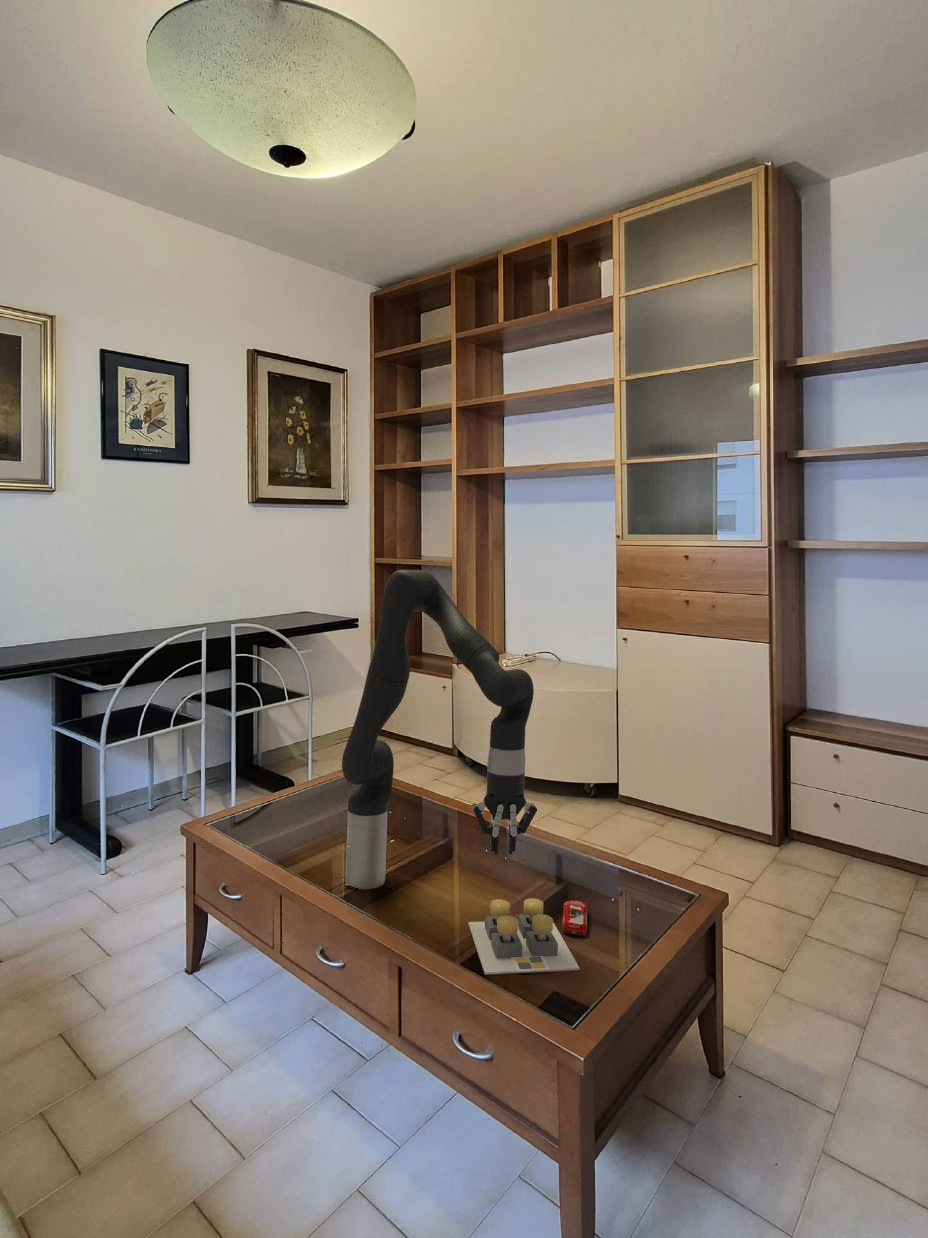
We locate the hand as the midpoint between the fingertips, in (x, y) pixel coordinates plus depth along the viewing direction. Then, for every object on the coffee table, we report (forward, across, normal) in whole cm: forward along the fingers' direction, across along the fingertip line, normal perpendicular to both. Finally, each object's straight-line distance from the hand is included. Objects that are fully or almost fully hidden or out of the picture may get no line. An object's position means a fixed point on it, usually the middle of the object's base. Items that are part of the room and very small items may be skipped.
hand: (502, 852), depth 143 cm
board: (+17, +4, -4) cm, 18 cm away
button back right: (+15, +7, 0) cm, 16 cm away
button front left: (+15, 0, -7) cm, 16 cm away
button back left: (+15, 0, 0) cm, 15 cm away
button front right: (+15, +7, -7) cm, 18 cm away
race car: (+18, +17, +4) cm, 25 cm away
